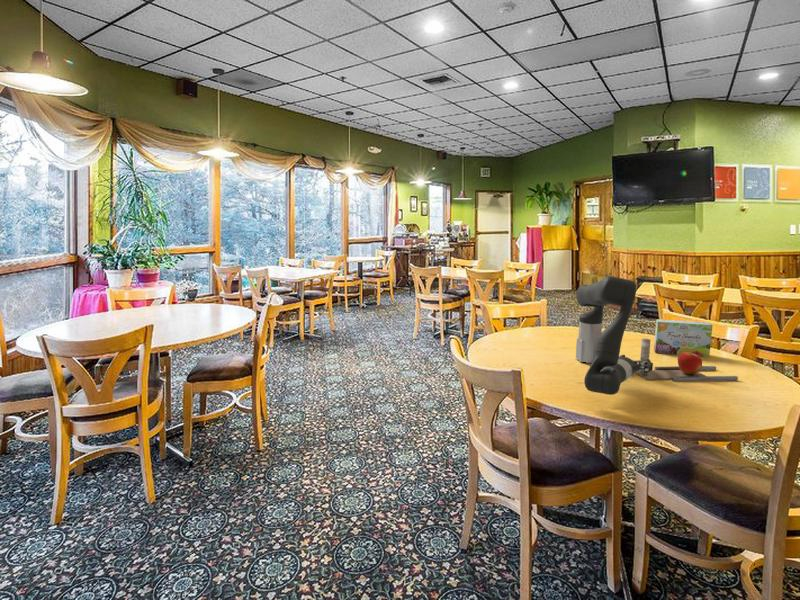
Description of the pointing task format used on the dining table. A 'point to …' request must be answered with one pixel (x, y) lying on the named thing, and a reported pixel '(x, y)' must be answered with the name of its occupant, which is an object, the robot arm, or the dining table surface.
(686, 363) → the apple
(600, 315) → the robot arm
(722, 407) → the dining table surface
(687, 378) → the lane rails
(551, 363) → the dining table surface
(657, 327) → the snack box
